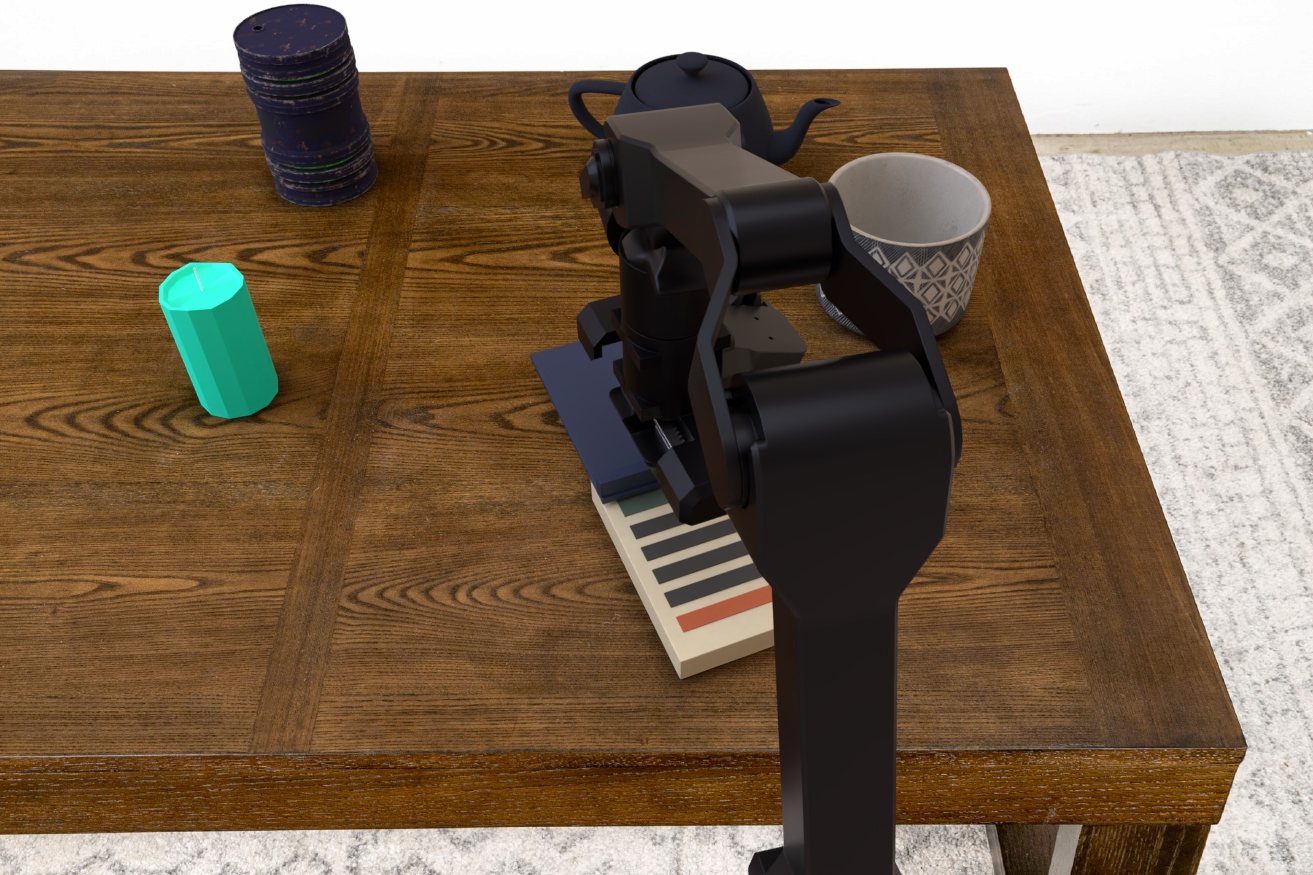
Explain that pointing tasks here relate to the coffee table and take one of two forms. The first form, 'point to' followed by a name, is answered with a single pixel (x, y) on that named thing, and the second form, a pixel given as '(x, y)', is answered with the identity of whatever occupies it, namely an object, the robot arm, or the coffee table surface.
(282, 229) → the coffee table surface
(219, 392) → the candle
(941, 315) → the planter
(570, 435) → the cover
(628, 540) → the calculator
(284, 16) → the dark blue barrel
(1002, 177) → the coffee table surface
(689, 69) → the teapot
